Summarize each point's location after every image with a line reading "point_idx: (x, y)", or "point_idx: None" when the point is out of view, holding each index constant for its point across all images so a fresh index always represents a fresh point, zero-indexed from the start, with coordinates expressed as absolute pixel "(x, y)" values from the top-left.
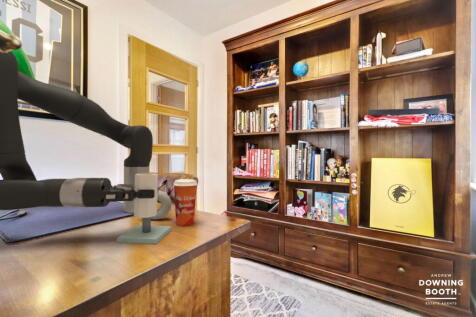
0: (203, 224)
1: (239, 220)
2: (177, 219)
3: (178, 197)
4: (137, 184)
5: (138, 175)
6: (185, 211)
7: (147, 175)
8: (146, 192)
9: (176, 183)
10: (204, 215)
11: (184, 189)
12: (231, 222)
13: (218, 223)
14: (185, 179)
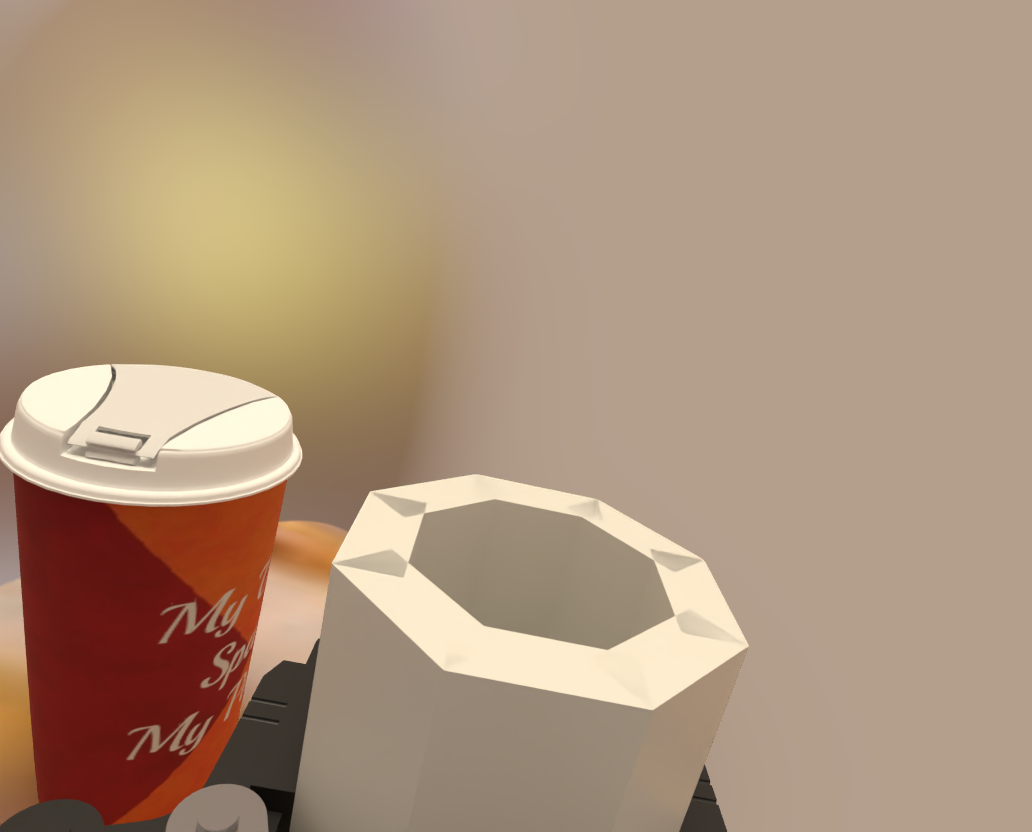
0: (254, 677)
1: (286, 531)
2: (164, 803)
3: (214, 608)
4: (657, 829)
5: (724, 669)
6: (245, 683)
7: (710, 575)
8: (706, 793)
9: (202, 476)
10: (14, 619)
11: (276, 504)
12: (301, 563)
13: (283, 610)
14: (67, 381)
